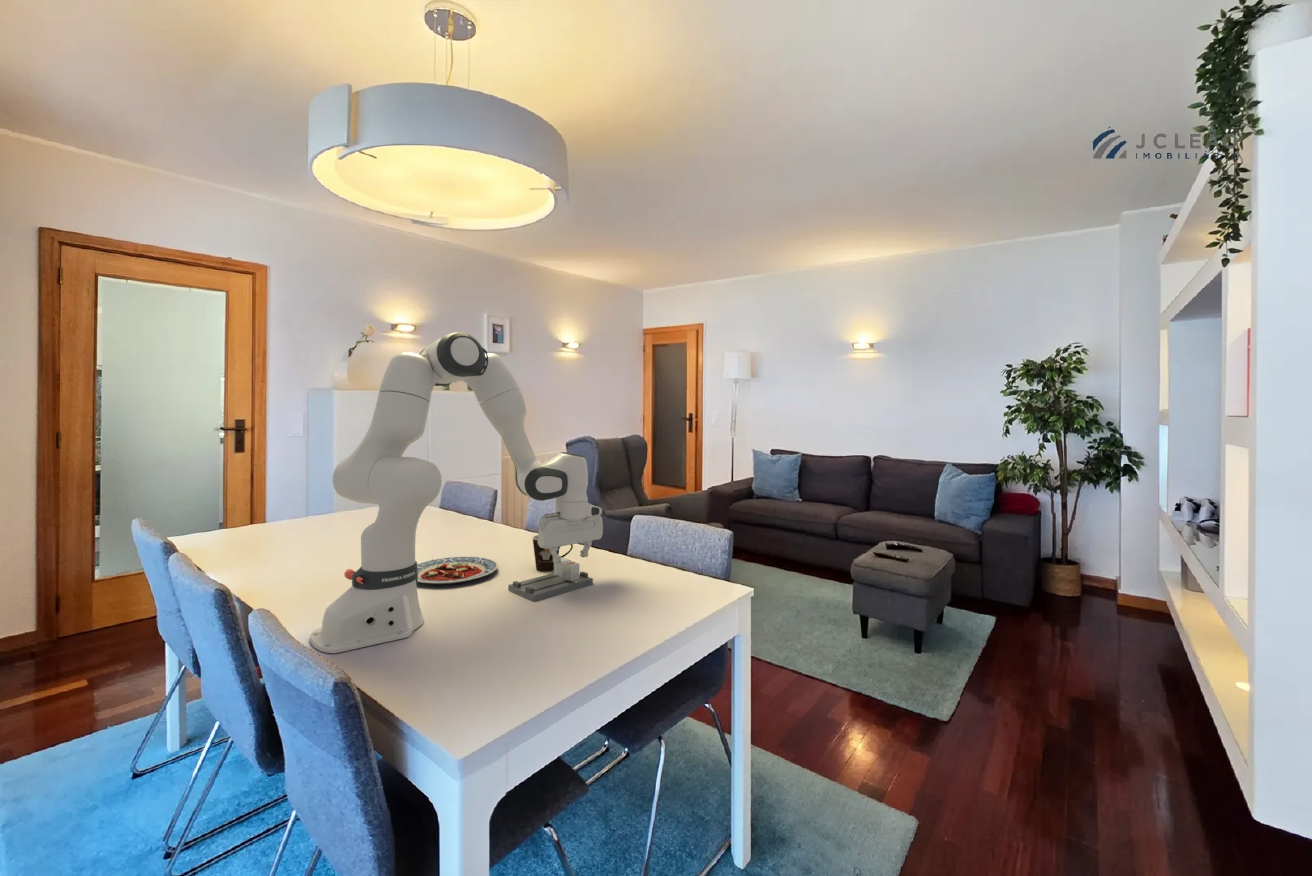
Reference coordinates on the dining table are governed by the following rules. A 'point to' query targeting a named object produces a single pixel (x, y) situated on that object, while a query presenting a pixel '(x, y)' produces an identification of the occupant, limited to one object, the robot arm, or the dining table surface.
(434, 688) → the dining table surface
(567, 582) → the grey slider board
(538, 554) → the coffee mug
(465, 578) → the ceramic plate
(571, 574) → the block
